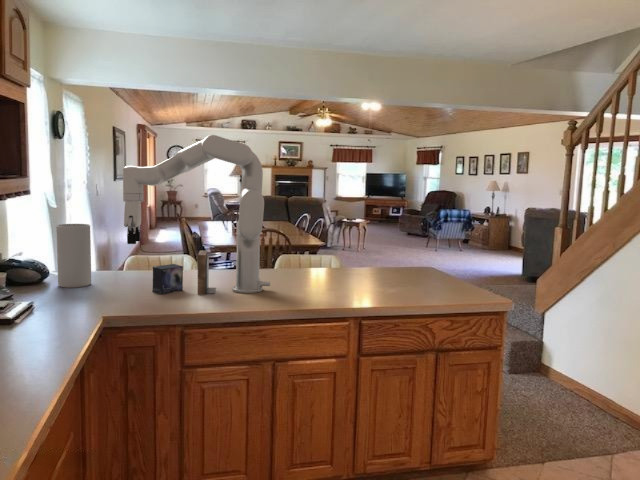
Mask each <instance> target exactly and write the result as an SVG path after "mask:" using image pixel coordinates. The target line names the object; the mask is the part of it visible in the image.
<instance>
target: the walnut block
mask: <svg viewBox="0 0 640 480" xmlns="http://www.w3.org/2000/svg"><path fill="white" fill-rule="evenodd" d="M207 255H208V250H202V249H201V250H199V251H198V254H197V295H198V296H199V295H200V296H201V295H202V296H205V295H206V294H205V272H206V258H207Z"/></svg>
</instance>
